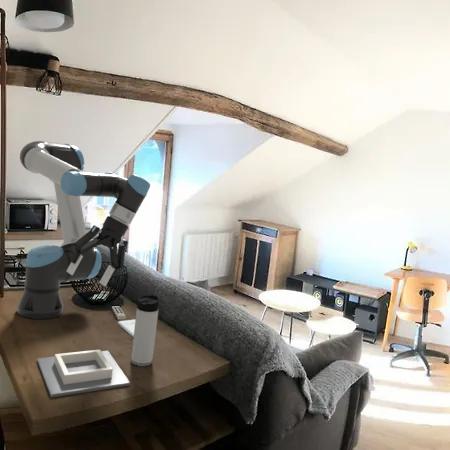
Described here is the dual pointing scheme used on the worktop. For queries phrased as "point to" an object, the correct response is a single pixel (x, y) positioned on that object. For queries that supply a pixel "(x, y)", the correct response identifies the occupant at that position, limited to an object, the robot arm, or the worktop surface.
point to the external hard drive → (128, 326)
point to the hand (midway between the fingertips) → (86, 279)
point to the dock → (81, 372)
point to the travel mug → (145, 330)
